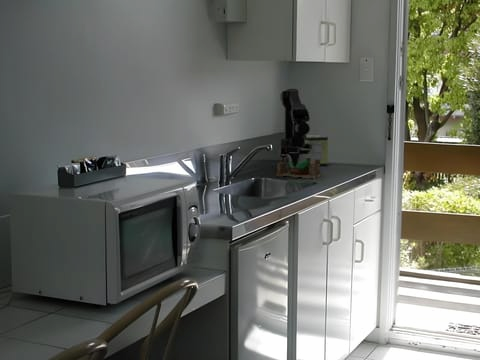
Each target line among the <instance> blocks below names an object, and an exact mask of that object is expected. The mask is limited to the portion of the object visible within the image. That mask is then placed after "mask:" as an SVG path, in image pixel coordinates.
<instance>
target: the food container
mask: <svg viewBox="0 0 480 360" xmlns="http://www.w3.org/2000/svg"><path fill="white" fill-rule="evenodd" d="M287 155H288V156H287V157H288V158H289V167H290V169H289V172H290V174H293V175H307V174H309V166H310V159H311V158H312V155H311V154H300V155H299V159H298V162H297V165H296V167H294V166H293V163H292V159H291V156H290V155H289V154H287Z"/></svg>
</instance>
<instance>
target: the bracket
mask: <svg viewBox="0 0 480 360" xmlns="http://www.w3.org/2000/svg"><path fill="white" fill-rule="evenodd" d="M276 168H277V169H276V174H275V175H276V177H283V176H291V177H290V178H297V177H302V178H301V179H310V178H313V179H316V178H319V177H321V176H322V173H321V166H320V159H315V164H313V165H310V166H309V174H307V175H293V174H290V169H289V158H287V157H285V158H284V162H282V161H281V162H279V163H277V167H276Z"/></svg>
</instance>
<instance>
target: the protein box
mask: <svg viewBox="0 0 480 360" xmlns="http://www.w3.org/2000/svg"><path fill="white" fill-rule="evenodd" d="M306 135H307V136H306V137H305V143H310V144H311V145H312V149H308V150H311V151H310V152H309V154H311V155H312V158H311V159H310V165H313V164H315V159H320V167H328V150H329V149H328V143H329V141H328V138H329V137H328V136H323V135H319V134H306Z"/></svg>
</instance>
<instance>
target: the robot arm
mask: <svg viewBox="0 0 480 360" xmlns="http://www.w3.org/2000/svg"><path fill="white" fill-rule="evenodd" d="M280 101H281V105H282V106H283V108H284V120H283V121H284V124H283V125H284V127H283V129H284V130H283V131H284V132H283V133H284V135H283V136H284V137H283V138H281V141H280V145H279V148H278V157H279V158H281V163H282V162H284V158H285V157H287V156H288V154H289V155H290V156H291V159H292V163H293V166H294V167H296V165H297V162H298V159H299V155H300V154H309V152H310V151H311V150H308V149H312V145H311V144H310V143H305V137H306V136H307V135H308V134H309V132H310V130H311V127H310V125H309V123H307V122H310V118H311V117H310V112H309V110H308V109H307V107H306V104H303V103H302V101H301V99H300V96H299V89H297V88H287V89H285V90H283V91H281V93H280ZM287 158H288V157H287ZM289 170H290V167H289Z"/></svg>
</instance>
